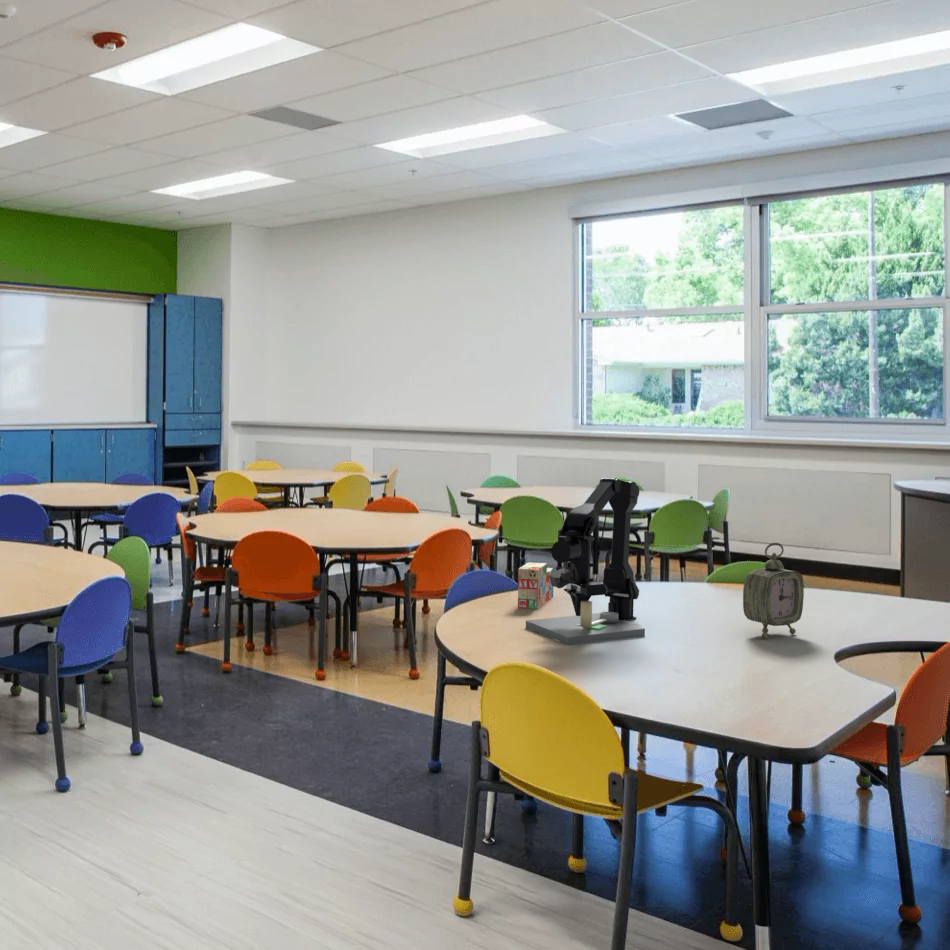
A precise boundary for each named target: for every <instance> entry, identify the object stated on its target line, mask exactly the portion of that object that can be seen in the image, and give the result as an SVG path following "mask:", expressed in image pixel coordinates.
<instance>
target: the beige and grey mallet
mask: <svg viewBox="0 0 950 950" xmlns="http://www.w3.org/2000/svg"><path fill="white" fill-rule="evenodd" d="M599 613H600V620H597V621H594V622H592V614H593V602H592V601H591V600H588V601H581V617H580V626H581V627H592V625H595V624H598V623H601V622H606V623H615V622H618V613H616V612H608V611H601V612H599Z"/></svg>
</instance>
